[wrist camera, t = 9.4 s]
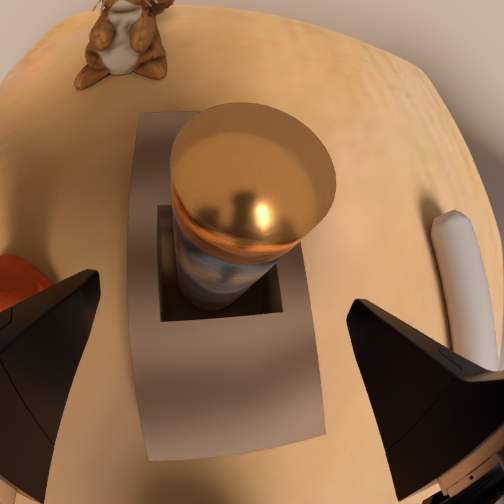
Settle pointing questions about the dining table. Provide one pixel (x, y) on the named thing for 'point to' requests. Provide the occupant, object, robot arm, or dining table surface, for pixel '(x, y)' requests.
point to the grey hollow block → (213, 337)
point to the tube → (465, 289)
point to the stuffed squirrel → (125, 41)
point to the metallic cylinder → (243, 197)
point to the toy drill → (18, 280)
